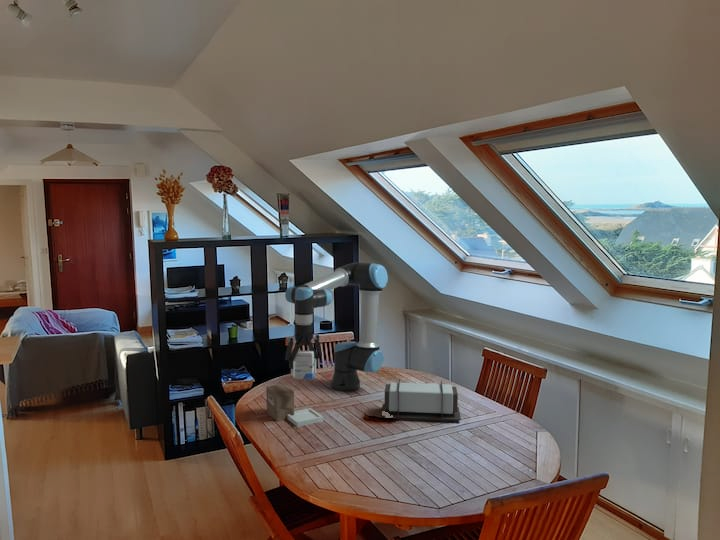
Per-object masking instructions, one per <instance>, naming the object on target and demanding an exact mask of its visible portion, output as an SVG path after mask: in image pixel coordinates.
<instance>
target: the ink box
mask: <svg viewBox="0 0 720 540" xmlns="http://www.w3.org/2000/svg"><path fill="white" fill-rule="evenodd" d="M294 361H295V377H293V376H292V378H293V380H314V377H315V374H314V351H311V350H300V349H299V350H298V352H297V354H296V356H295V359H294Z"/></svg>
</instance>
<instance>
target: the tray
mask: <svg viewBox="0 0 720 540" xmlns="http://www.w3.org/2000/svg"><path fill="white" fill-rule="evenodd" d="M286 420H288V421H290V423H292V424H293V425H294V426H295V427H297V428H300V427H303V426H309V425H313V424H317V423H322V422H324V416H323V415H322V414H320V413H319V412H317V411H316V410H314V409H313V408H311V407H309V408H304V409H300V410H298V409H297V410H294V415H292V416H291V415H290V414H288V415H287V419H286Z"/></svg>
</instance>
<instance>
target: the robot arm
mask: <svg viewBox="0 0 720 540" xmlns="http://www.w3.org/2000/svg"><path fill="white" fill-rule="evenodd" d="M388 281H389V278H388V272H387V269H386V268H385V266H383V265H382V264H378V263H372V262H371V263H368V262H351V263H348V264H345V265H342V266H339V267H337V268H336V269H334V270H333V272H331V273H329V274H326V275H324V276H321V277H319V278H317V279H314V280H312V281H309V282H307V283H304V284H302V285H299V286H288V288H287V289H286V291H285V294H284V296H285V300H286V301H287V302H288V303H291V304H294V306H295V307H294V309H295V310H294V312H295V313H294V316H295V317H294V323H295V325H294V332H295V333H294V335H293V336H288V337H287V340H288V342H287V347H286V351H285V356H284V360H285V361H287V362H288V367H289V368H288V369H290V376H291V377H292V378H293V377H295V361H294V359H295V356H296V354H297V352H298V350H300V348H301V347H302V346H307V347H308V348H309V351H314V375H315V374H317V366H318V365H319V359H320V357H323V353H322V352H323V351H322V349H321V343H320V335H319V334H317V333H315V334H314V333H313V331H314V330H313V328H314V327H313V326H314V325H313V322H314V320H313V319H314V317H313V316H314V315H313V313H314V312H313V311H314V310H313V309H316V308H322V307H326V306H330V304H331V303H332V301H333V295H332V292H331V291H333V290H334V289H336V288H338V287H346V286H357V287H358V291H359V292H360V293H361V302H360V303H361V305H360V324H359V325H360V326H359V341H358V342H356V341H342V342H338V343H336V344H335V345H334V348H333V349H334V352H333V362H334V364H333V367H334V368H333V370H334V371H333V375H332V378H331V381H330V388H331V389H333V390H335V391H341V392H348V391H349V392H350V391H356V390H358V389H359V388H361V380H360V378H359V375H358V372H357V371H360V372H365V373H371V374H374V373H376V372H378V371H380V369H381V368H382V366H383V364H384V360H385V359H384V358H385V354H384V353H383V351H382V350H380V346H381V345H380V344H379V343H378V342H377V341H378V323H379V322H378V321H379V305H380V303H379V301H380V294H381V293H382V292H383V288H385V287H386V286H387V284H388ZM312 340H313V342H314V344H313V342H312ZM294 343H295V344H294ZM314 345H315V347H314Z"/></svg>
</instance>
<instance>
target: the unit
mask: <svg viewBox="0 0 720 540" xmlns="http://www.w3.org/2000/svg"><path fill="white" fill-rule="evenodd" d="M265 392H266V394H265V395H266V413H267V415H269V416H270V417H272V418H273V419H274V420H275V421H276V422H280V421H285V420H288V419H287V415H288V414H290V415H291V416H292V415H294V411H295V391H294V390H293V389H292V388H290V387H288V386H287V385H285V384H284V383H281V384H280V383H279V384H275V385H269V386H266V391H265Z"/></svg>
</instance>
